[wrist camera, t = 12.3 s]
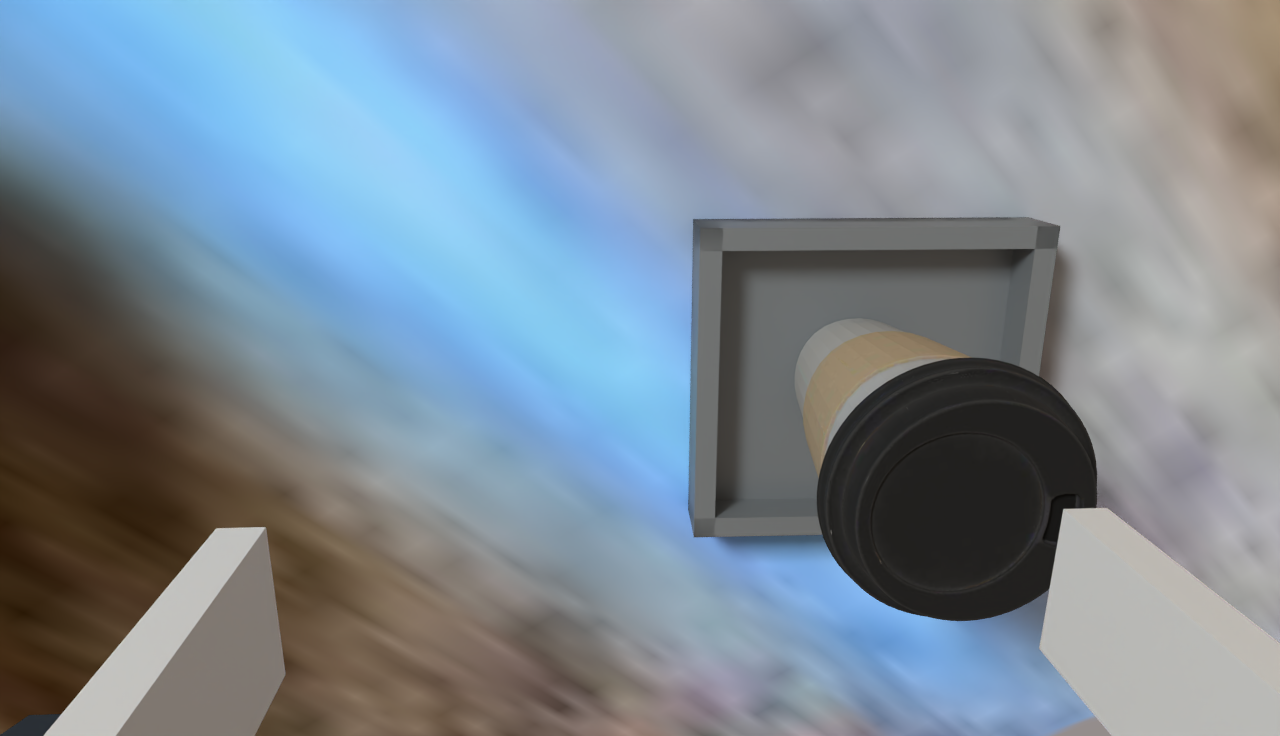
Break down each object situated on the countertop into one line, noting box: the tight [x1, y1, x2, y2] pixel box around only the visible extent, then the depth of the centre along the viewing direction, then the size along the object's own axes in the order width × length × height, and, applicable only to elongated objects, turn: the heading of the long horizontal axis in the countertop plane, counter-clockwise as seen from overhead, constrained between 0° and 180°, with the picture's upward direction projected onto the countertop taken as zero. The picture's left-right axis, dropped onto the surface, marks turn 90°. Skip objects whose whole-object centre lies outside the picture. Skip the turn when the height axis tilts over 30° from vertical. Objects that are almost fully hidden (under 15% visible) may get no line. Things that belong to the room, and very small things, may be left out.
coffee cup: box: [795, 318, 1097, 621], centre depth 35 cm, size 9×9×15 cm
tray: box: [688, 217, 1060, 537], centre depth 42 cm, size 16×15×3 cm
